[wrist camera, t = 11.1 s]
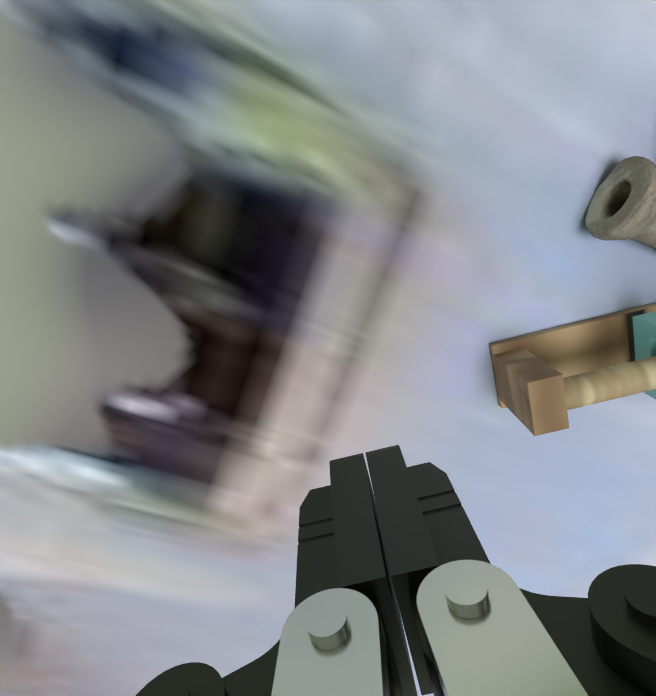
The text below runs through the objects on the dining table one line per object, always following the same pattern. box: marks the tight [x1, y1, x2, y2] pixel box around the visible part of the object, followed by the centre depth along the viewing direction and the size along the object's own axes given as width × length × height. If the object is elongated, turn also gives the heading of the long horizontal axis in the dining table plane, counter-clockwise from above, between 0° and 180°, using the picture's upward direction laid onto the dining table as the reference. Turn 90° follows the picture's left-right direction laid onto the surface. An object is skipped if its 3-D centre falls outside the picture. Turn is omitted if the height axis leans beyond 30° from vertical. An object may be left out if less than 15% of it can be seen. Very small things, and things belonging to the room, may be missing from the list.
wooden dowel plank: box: [489, 303, 656, 436], centre depth 39 cm, size 18×6×8 cm, turn 104°
